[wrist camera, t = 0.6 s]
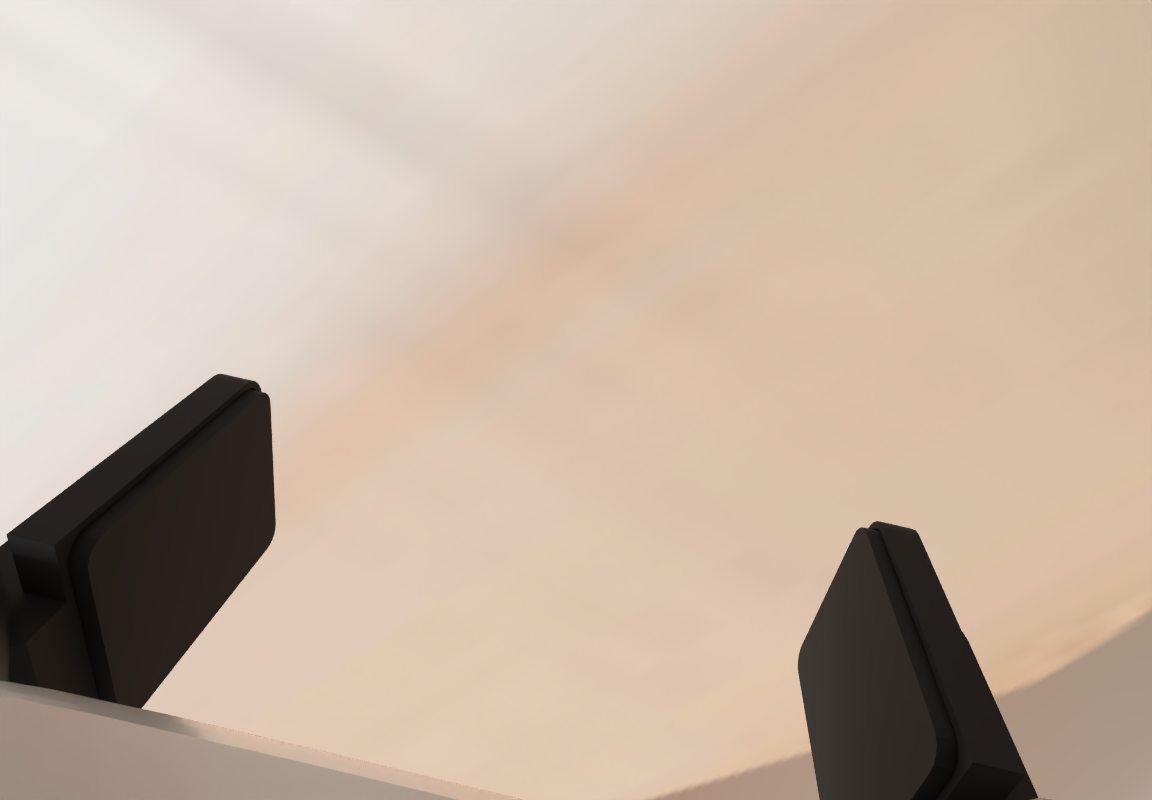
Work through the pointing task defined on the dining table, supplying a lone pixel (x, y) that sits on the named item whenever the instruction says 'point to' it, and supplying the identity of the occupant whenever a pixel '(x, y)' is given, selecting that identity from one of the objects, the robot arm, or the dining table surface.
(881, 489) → the dining table surface
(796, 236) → the dining table surface
